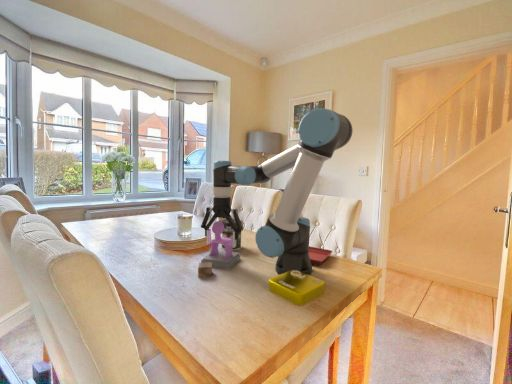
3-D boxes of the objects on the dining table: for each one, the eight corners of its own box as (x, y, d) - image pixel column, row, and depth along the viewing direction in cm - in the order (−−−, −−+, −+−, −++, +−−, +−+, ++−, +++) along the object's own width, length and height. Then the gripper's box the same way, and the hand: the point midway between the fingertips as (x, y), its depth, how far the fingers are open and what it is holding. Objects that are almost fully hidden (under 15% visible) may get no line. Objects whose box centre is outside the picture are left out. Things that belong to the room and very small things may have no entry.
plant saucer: (298, 249, 140) (298, 243, 140) (332, 256, 131) (333, 250, 131) (283, 260, 125) (283, 253, 124) (321, 268, 116) (322, 261, 115)
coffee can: (237, 251, 134) (238, 223, 132) (218, 249, 136) (218, 222, 135) (243, 245, 144) (244, 219, 142) (225, 243, 146) (225, 218, 145)
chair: (223, 260, 113) (224, 225, 111) (207, 256, 117) (207, 222, 116) (234, 254, 120) (235, 222, 119) (218, 251, 125) (219, 219, 123)
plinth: (239, 258, 124) (239, 252, 123) (229, 269, 111) (229, 262, 111) (213, 255, 127) (213, 249, 127) (201, 265, 115) (201, 258, 114)
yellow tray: (266, 290, 94) (266, 277, 94) (293, 279, 105) (293, 267, 104) (300, 308, 84) (301, 293, 83) (326, 293, 94) (327, 280, 93)
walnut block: (211, 271, 109) (211, 262, 108) (211, 277, 104) (211, 267, 103) (199, 272, 108) (199, 262, 108) (198, 277, 103) (198, 267, 103)
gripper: (250, 197, 116) (249, 245, 119) (200, 193, 123) (200, 240, 125) (245, 199, 109) (244, 250, 112) (192, 195, 115) (192, 244, 118)
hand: (221, 245), depth 118 cm, fingers open, 11 cm apart
